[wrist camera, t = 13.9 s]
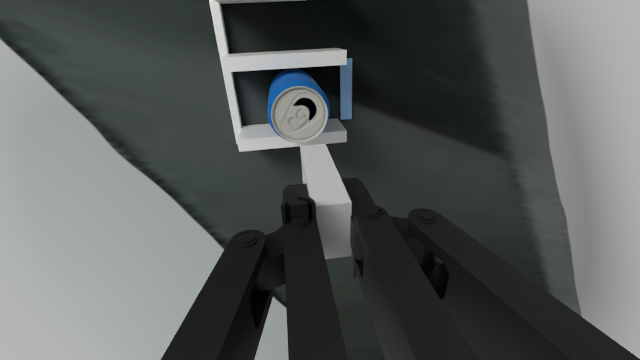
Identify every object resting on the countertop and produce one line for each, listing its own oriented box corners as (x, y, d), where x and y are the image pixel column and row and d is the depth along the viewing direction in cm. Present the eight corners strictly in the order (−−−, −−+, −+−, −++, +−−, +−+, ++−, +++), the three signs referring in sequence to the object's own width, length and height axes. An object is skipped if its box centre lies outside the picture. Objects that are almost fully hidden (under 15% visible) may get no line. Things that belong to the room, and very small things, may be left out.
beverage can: (326, 92, 39) (345, 114, 28) (294, 126, 40) (301, 158, 30) (292, 56, 36) (298, 66, 26) (259, 94, 38) (252, 117, 27)
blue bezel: (339, 58, 37) (340, 59, 37) (351, 58, 37) (352, 58, 37) (340, 118, 41) (340, 119, 40) (351, 118, 41) (351, 118, 41)
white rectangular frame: (185, -134, 27) (163, -175, 22) (333, -133, 29) (346, -171, 23) (237, 141, 40) (231, 157, 35) (337, 132, 42) (346, 146, 36)
